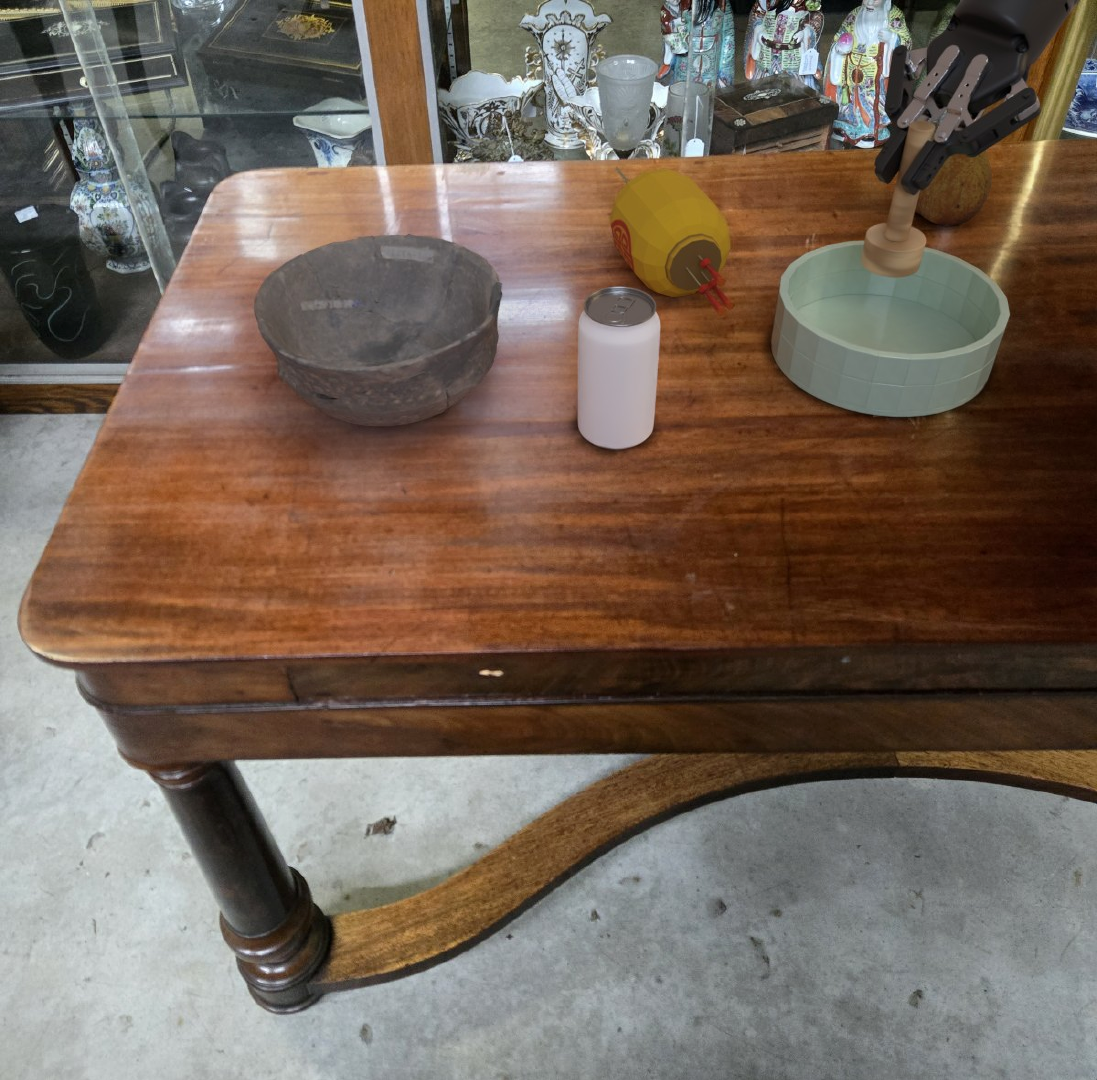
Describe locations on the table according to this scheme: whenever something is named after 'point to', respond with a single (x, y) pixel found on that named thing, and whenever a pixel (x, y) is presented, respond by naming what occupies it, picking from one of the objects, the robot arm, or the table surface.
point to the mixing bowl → (887, 331)
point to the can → (617, 367)
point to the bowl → (382, 326)
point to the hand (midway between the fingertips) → (894, 183)
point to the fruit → (956, 190)
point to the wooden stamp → (899, 219)
